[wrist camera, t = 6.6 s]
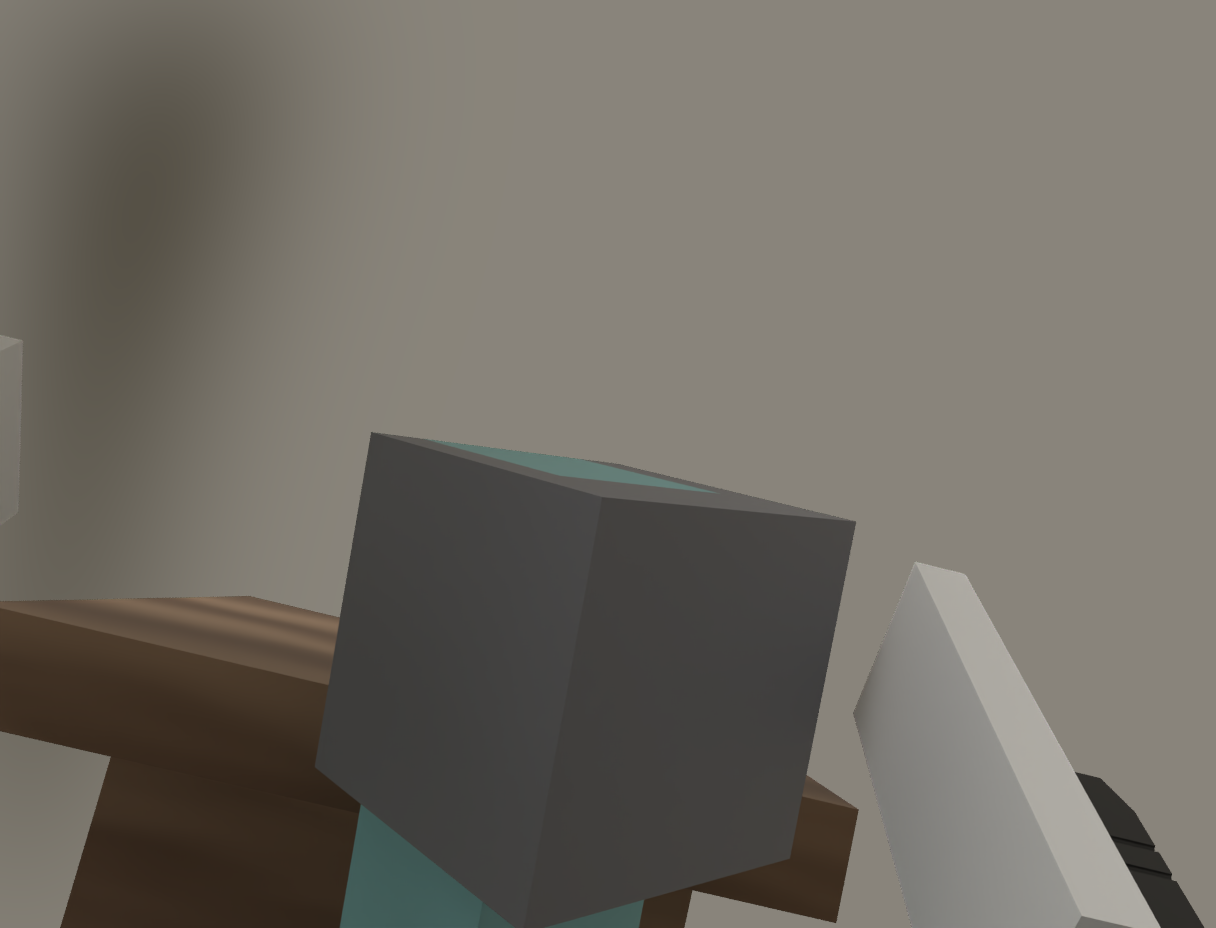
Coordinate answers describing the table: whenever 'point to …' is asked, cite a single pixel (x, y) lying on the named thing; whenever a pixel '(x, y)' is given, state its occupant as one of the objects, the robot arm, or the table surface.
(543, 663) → the hammer
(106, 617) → the shelf stand
